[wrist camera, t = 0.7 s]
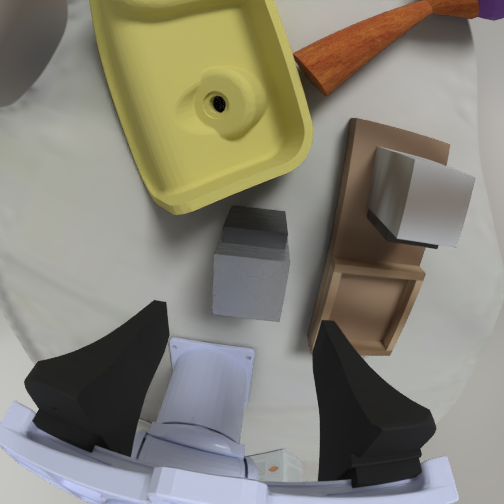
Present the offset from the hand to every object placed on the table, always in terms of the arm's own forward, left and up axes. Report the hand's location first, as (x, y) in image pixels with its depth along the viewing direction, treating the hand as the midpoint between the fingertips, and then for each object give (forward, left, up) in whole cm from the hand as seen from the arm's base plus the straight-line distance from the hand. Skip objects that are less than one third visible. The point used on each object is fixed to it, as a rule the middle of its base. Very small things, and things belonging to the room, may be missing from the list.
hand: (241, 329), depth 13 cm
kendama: (+21, -7, -7) cm, 23 cm away
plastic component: (+14, +5, -10) cm, 18 cm away
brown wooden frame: (+1, -9, -9) cm, 13 cm away
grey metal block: (0, 0, -9) cm, 9 cm away
